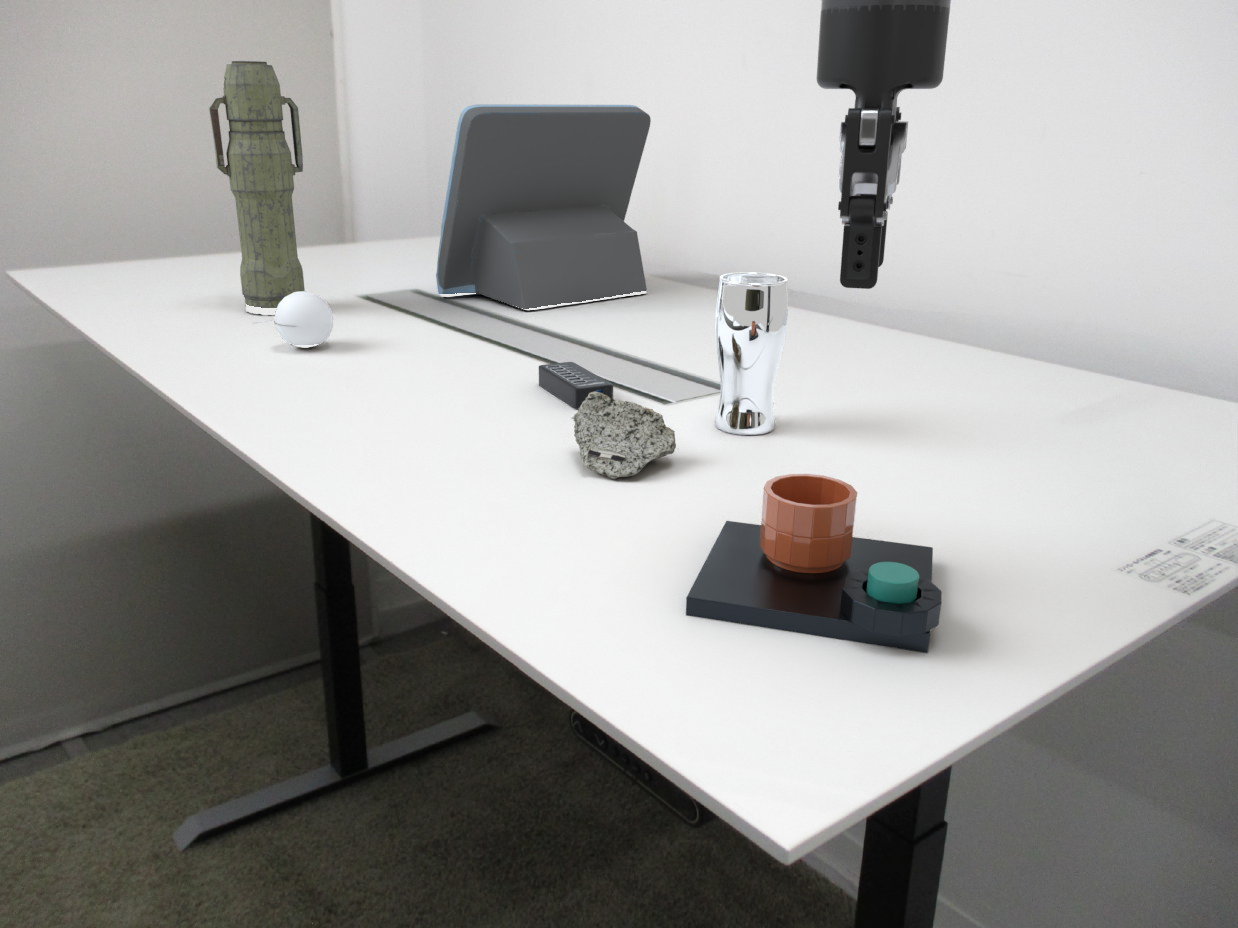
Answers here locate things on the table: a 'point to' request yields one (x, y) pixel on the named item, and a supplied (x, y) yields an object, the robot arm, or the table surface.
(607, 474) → the rock sample
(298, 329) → the white ball
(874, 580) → the tare button
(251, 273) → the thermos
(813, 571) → the terracotta cup
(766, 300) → the beer glass
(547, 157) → the touchscreen device
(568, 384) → the multiport hub
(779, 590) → the scale
